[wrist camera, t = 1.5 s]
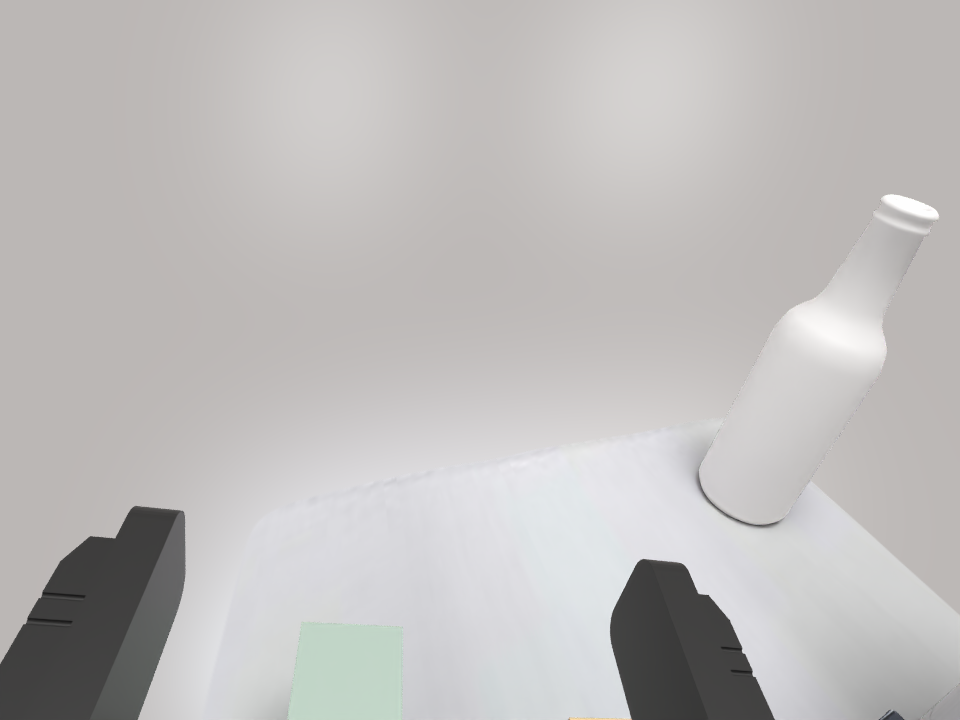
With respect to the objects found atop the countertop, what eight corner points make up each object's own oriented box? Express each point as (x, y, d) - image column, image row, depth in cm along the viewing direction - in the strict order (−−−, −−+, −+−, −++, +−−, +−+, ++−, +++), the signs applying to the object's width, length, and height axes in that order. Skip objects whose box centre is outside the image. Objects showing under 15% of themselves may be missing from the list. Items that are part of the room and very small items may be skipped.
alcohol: (737, 456, 69) (893, 182, 53) (803, 518, 63) (1001, 229, 47) (677, 471, 65) (826, 178, 49) (741, 538, 59) (935, 229, 43)
